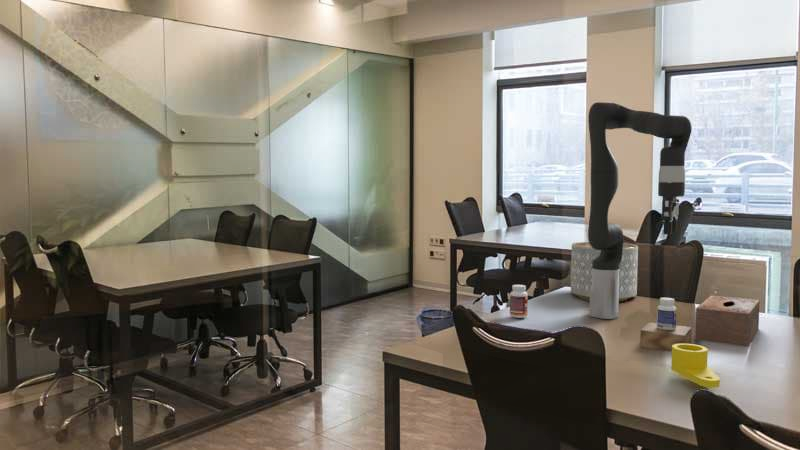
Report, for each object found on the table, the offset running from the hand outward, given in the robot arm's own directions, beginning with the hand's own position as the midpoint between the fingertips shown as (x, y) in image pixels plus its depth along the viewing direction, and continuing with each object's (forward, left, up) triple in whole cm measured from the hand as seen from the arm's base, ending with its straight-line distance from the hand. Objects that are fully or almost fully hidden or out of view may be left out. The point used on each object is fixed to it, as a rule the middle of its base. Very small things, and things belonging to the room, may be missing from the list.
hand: (669, 233), depth 204 cm
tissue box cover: (+16, +12, -33) cm, 38 cm away
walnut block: (+2, -13, -32) cm, 35 cm away
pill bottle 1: (-50, +2, -32) cm, 60 cm away
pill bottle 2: (+2, -13, -27) cm, 30 cm away
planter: (-33, +50, -32) cm, 68 cm away
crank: (+14, -40, -32) cm, 53 cm away
